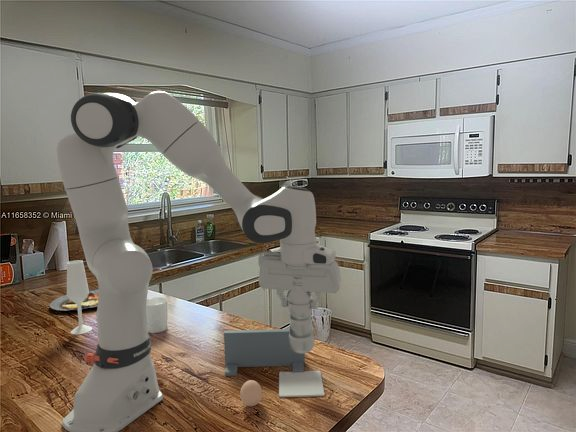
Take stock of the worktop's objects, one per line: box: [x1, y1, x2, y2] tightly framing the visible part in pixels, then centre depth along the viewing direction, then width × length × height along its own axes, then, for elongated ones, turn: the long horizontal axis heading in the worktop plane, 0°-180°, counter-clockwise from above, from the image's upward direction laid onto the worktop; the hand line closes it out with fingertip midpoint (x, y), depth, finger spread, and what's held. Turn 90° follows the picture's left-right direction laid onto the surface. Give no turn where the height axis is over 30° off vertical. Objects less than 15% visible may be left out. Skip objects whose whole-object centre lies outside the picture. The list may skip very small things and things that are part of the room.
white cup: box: [146, 296, 169, 334], centre depth 138 cm, size 8×8×10 cm
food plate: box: [49, 288, 99, 311], centre depth 166 cm, size 25×23×4 cm
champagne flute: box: [66, 259, 93, 335], centre depth 137 cm, size 7×7×24 cm
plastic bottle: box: [285, 278, 315, 355], centre depth 101 cm, size 6×7×20 cm
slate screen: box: [223, 328, 306, 377], centre depth 110 cm, size 6×22×10 cm, turn 91°
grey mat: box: [278, 370, 326, 398], centre depth 103 cm, size 11×11×1 cm
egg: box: [239, 379, 263, 407], centre depth 94 cm, size 5×5×6 cm
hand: (299, 307), depth 100 cm, fingers closed on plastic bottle, 6 cm apart
